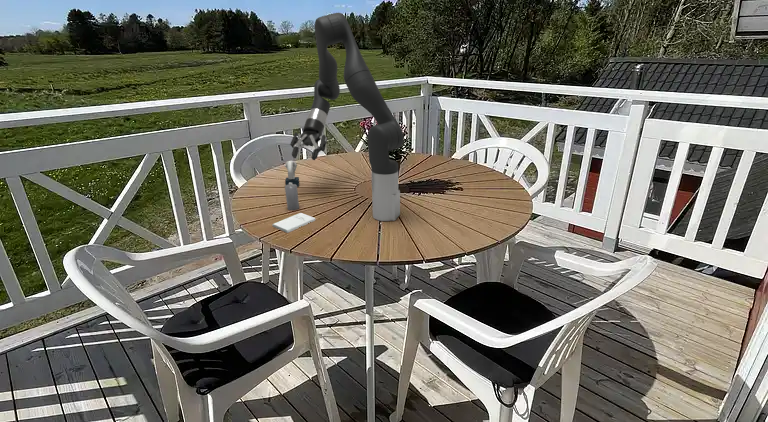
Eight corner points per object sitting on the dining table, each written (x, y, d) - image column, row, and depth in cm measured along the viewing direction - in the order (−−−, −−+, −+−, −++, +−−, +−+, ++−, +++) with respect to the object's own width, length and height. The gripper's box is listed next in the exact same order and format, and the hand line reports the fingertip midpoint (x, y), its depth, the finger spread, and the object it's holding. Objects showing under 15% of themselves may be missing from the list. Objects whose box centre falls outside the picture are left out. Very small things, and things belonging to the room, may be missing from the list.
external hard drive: (272, 227, 136) (300, 216, 145) (287, 234, 131) (315, 221, 140) (272, 223, 135) (300, 212, 144) (287, 230, 130) (315, 217, 139)
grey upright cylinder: (301, 206, 151) (298, 181, 147) (295, 211, 148) (292, 185, 143) (291, 205, 153) (288, 180, 149) (285, 209, 149) (282, 184, 145)
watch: (299, 182, 177) (297, 158, 173) (298, 188, 170) (295, 163, 166) (287, 182, 177) (284, 159, 172) (285, 188, 169) (282, 164, 165)
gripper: (295, 116, 157) (283, 151, 151) (327, 118, 152) (315, 154, 147) (303, 127, 163) (292, 161, 158) (334, 129, 159) (323, 164, 154)
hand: (303, 158), depth 153 cm, fingers open, 8 cm apart
